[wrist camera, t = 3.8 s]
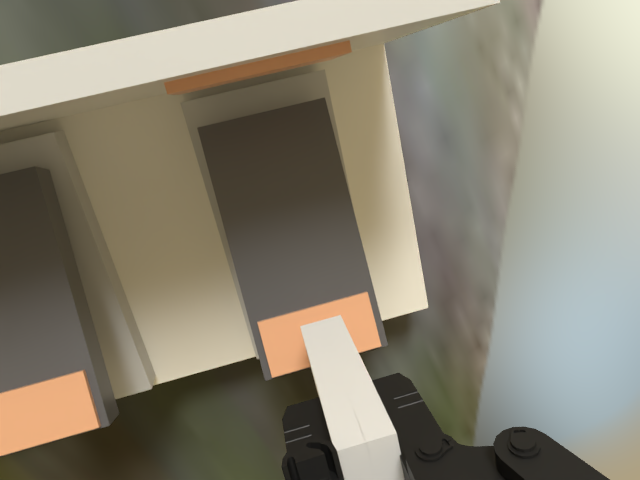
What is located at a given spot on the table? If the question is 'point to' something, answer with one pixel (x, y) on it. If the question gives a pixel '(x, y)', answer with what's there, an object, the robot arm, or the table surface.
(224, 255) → the switch unit
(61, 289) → the switch
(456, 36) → the table surface
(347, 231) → the switch
